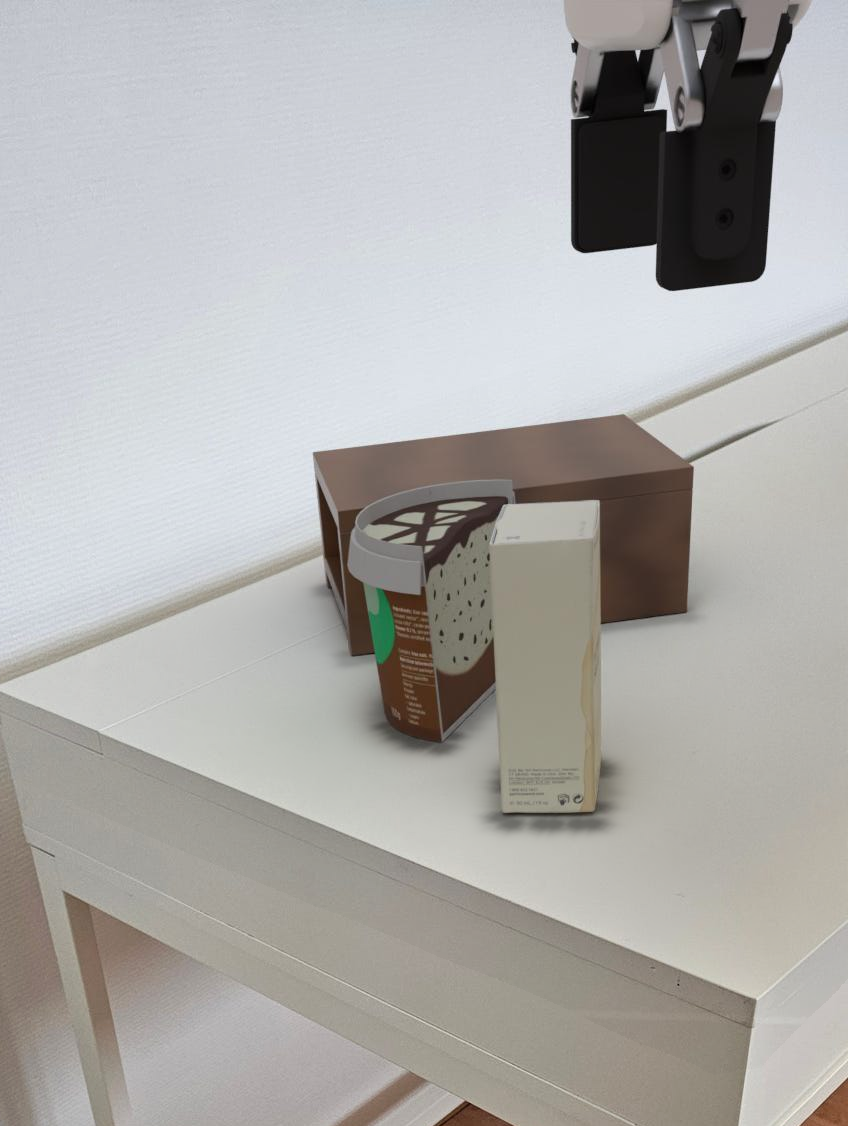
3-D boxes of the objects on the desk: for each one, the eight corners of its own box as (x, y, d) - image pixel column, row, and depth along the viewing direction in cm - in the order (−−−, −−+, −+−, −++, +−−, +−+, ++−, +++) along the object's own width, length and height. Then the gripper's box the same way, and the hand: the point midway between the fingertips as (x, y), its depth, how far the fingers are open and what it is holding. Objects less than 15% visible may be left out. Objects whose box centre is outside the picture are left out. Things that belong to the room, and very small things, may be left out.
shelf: (621, 544, 94) (623, 413, 89) (687, 612, 83) (694, 466, 78) (325, 582, 93) (312, 452, 88) (351, 656, 82) (337, 511, 77)
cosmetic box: (595, 816, 63) (598, 540, 56) (496, 816, 64) (486, 544, 57) (601, 756, 68) (604, 495, 61) (509, 757, 69) (502, 500, 62)
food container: (420, 654, 81) (408, 472, 75) (520, 663, 78) (516, 476, 73) (320, 740, 72) (298, 543, 66) (429, 754, 70) (416, 550, 64)
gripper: (992, -635, 29) (885, 287, 39) (711, -411, 43) (685, 226, 53) (640, -608, 29) (623, 319, 39) (471, -391, 43) (490, 249, 53)
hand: (659, 264), depth 46 cm, fingers open, 9 cm apart
